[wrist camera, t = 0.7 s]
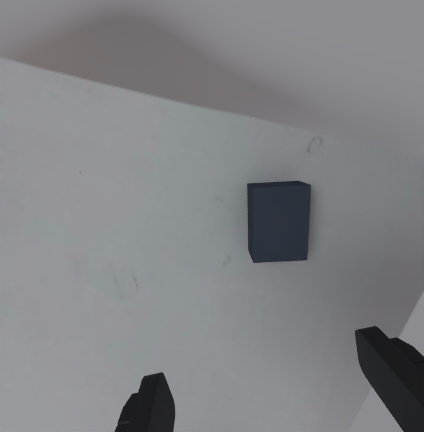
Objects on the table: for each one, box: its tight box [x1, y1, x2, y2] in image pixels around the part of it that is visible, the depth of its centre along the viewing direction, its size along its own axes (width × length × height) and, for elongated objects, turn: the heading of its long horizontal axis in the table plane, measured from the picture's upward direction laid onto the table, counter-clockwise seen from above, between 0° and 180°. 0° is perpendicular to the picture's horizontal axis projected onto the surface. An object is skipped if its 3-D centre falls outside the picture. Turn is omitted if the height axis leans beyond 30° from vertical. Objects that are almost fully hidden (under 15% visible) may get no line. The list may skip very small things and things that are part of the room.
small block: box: [247, 181, 311, 263], centre depth 23 cm, size 7×5×3 cm
